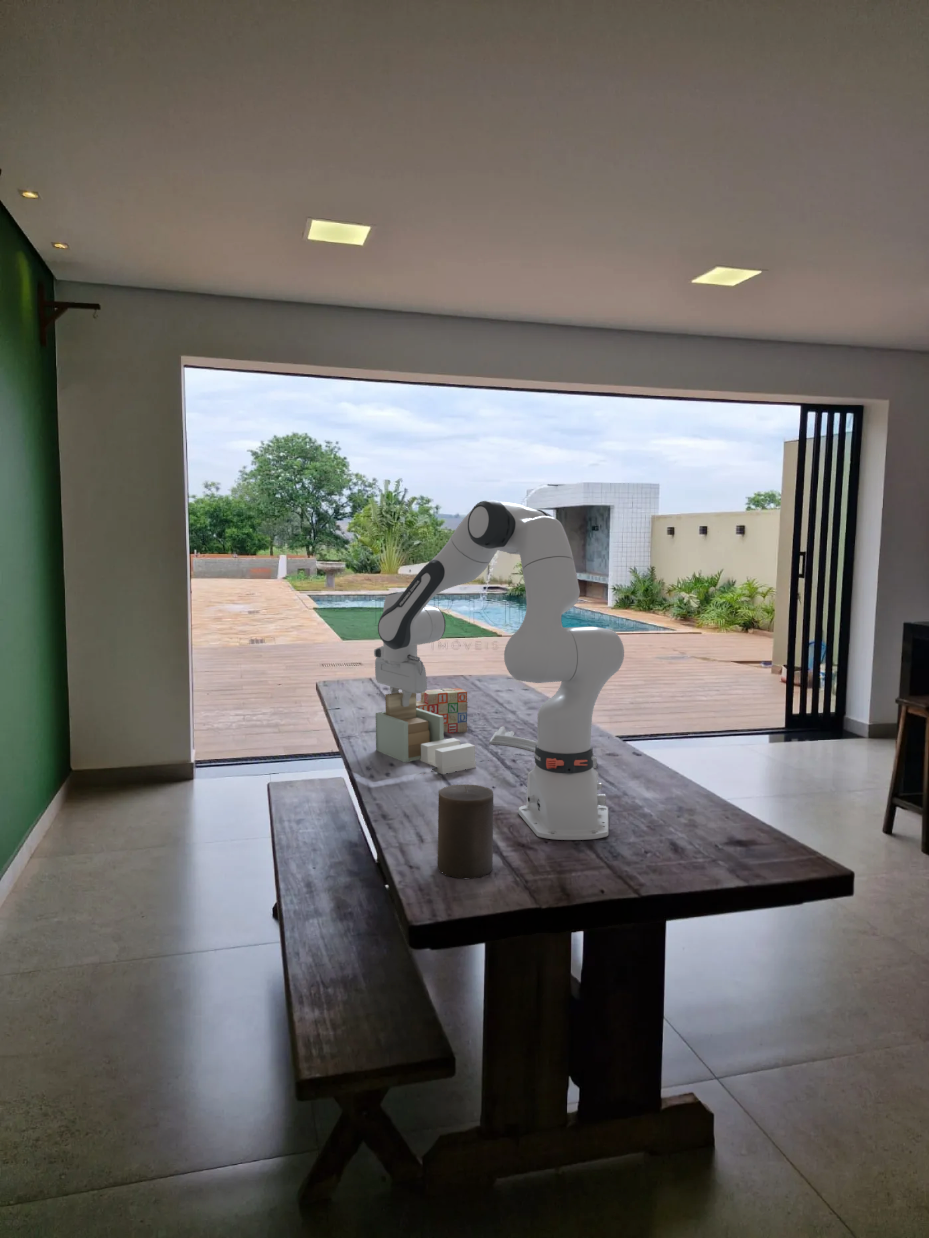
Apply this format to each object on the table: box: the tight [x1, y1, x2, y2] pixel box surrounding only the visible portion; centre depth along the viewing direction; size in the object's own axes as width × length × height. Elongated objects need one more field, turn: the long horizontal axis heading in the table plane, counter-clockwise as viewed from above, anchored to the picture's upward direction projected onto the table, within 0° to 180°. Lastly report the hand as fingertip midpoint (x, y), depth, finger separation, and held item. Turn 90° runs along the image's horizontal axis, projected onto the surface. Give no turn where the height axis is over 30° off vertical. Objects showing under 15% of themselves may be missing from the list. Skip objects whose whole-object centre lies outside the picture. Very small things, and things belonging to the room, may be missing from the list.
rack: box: [375, 708, 445, 763], centre depth 214 cm, size 14×12×11 cm
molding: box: [488, 726, 598, 769], centre depth 220 cm, size 42×12×3 cm, turn 34°
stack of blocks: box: [416, 687, 468, 734], centre depth 239 cm, size 21×6×12 cm, turn 112°
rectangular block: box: [385, 691, 417, 720], centre depth 217 cm, size 2×8×15 cm, turn 127°
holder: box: [419, 737, 477, 775], centre depth 205 cm, size 10×10×6 cm
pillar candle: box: [437, 783, 494, 879], centre depth 143 cm, size 10×10×15 cm
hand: (400, 704), depth 216 cm, fingers closed on rectangular block, 2 cm apart
